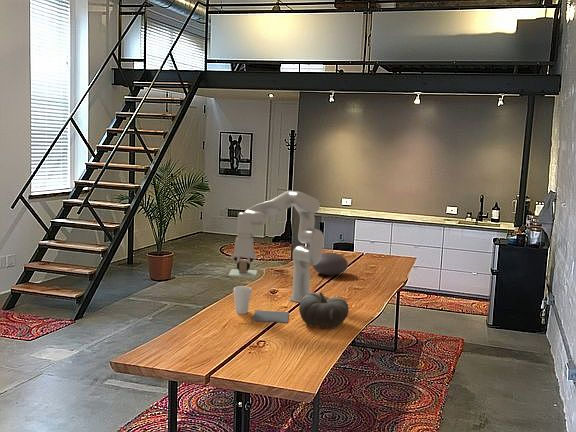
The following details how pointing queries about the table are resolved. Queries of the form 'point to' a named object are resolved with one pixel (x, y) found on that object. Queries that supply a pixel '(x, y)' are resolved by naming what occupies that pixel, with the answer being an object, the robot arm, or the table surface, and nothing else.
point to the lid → (243, 271)
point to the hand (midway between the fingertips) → (243, 269)
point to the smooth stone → (331, 264)
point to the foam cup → (242, 299)
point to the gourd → (323, 310)
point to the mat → (271, 316)
